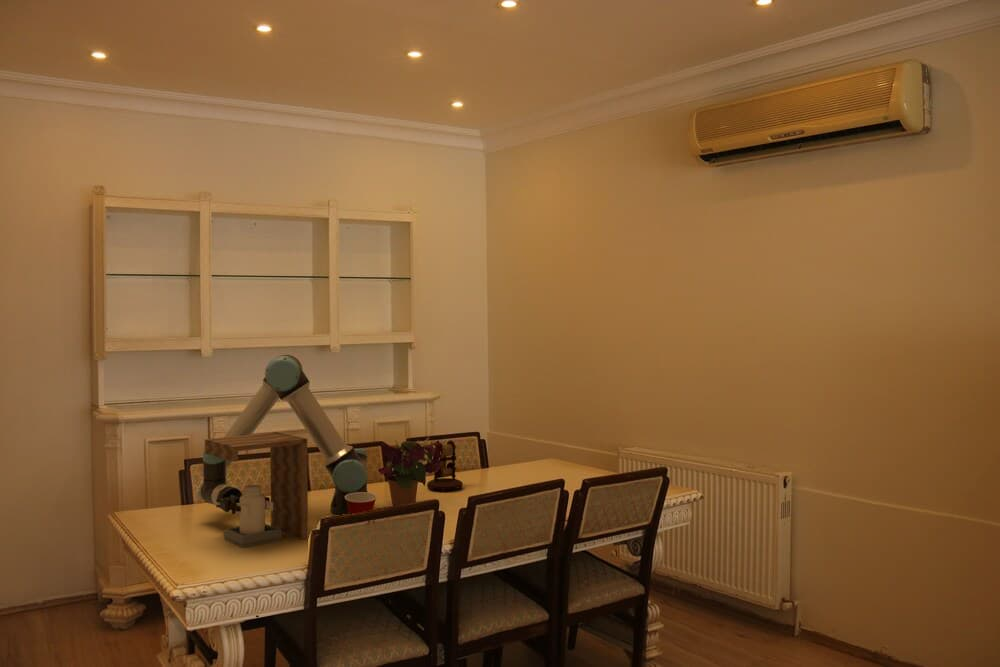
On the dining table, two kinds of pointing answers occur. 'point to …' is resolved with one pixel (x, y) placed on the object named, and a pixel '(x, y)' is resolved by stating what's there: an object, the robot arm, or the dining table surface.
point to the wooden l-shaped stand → (276, 474)
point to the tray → (252, 536)
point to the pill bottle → (253, 510)
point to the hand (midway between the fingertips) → (259, 508)
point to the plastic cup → (360, 501)
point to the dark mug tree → (446, 470)
